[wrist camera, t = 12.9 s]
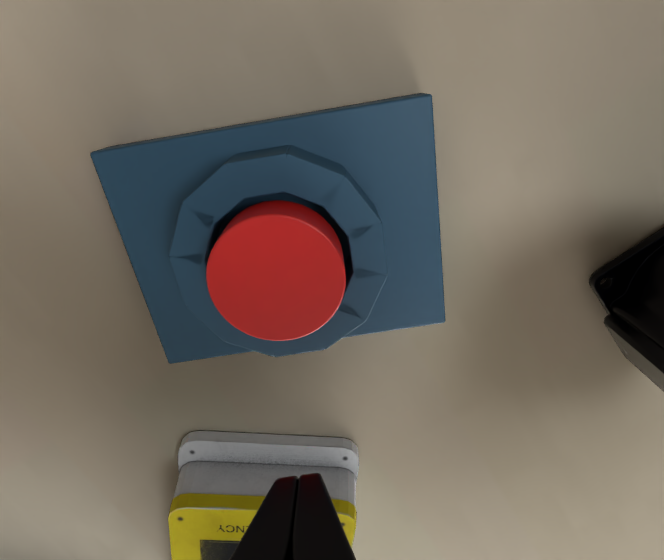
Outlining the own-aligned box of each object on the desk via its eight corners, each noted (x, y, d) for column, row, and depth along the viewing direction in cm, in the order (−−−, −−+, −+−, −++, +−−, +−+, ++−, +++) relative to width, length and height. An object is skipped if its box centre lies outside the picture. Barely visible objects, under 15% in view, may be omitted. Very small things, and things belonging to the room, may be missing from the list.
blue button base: (422, 92, 16) (448, 95, 13) (437, 306, 20) (460, 349, 17) (107, 146, 17) (56, 162, 13) (178, 345, 20) (152, 394, 17)
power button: (332, 189, 14) (334, 203, 13) (351, 306, 16) (355, 331, 15) (202, 211, 15) (187, 226, 13) (234, 324, 16) (225, 350, 15)
